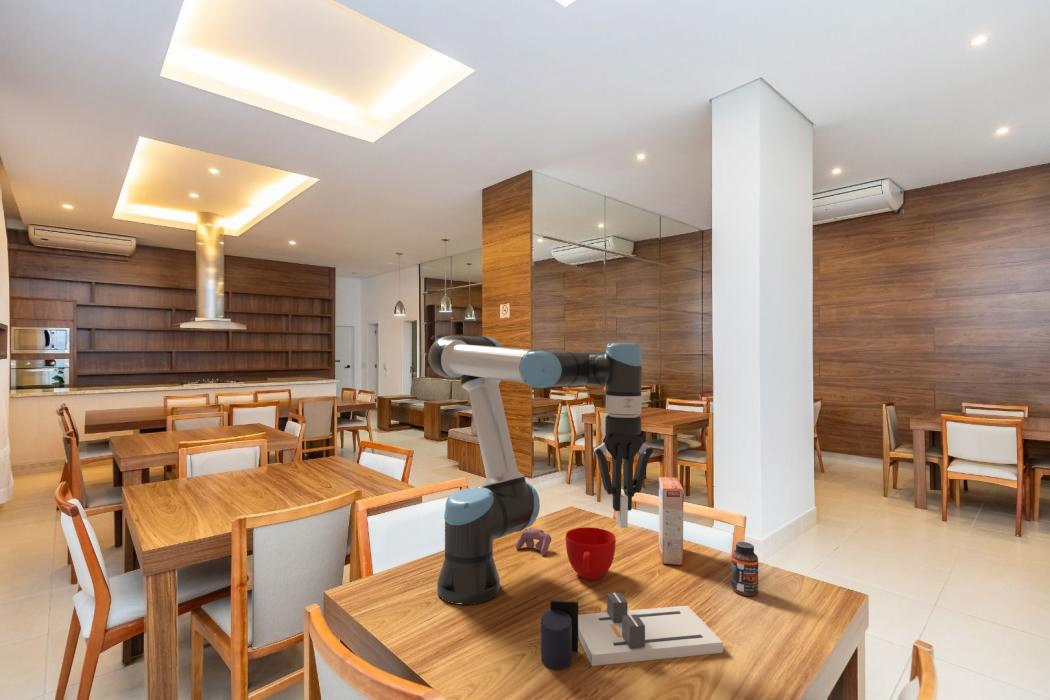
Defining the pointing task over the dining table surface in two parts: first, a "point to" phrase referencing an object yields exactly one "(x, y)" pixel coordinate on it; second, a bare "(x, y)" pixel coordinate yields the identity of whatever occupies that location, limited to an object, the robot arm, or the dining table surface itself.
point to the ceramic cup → (590, 551)
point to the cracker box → (671, 520)
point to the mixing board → (647, 636)
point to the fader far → (616, 606)
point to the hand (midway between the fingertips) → (621, 525)
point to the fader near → (633, 631)
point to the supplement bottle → (744, 570)
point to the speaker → (559, 634)
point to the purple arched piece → (534, 534)
